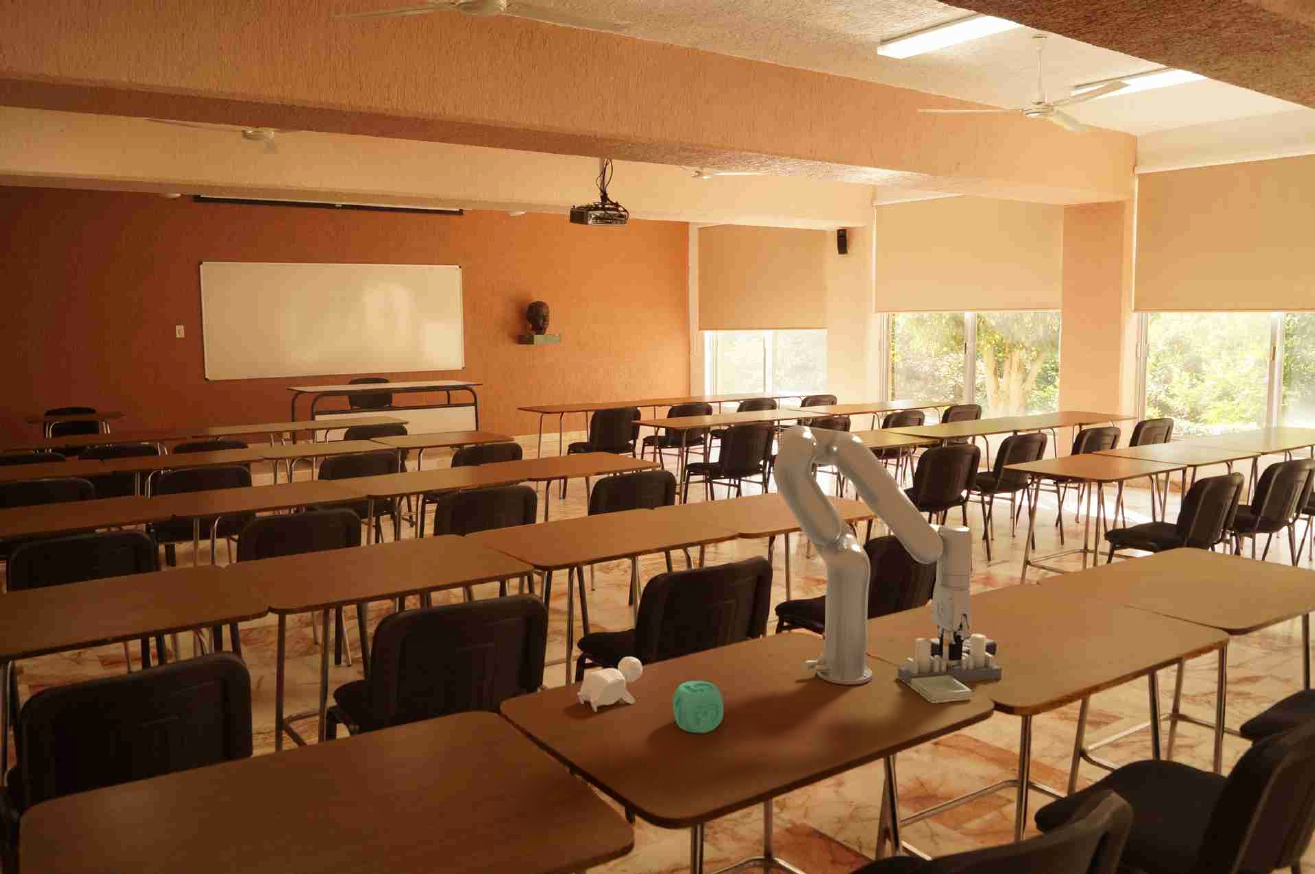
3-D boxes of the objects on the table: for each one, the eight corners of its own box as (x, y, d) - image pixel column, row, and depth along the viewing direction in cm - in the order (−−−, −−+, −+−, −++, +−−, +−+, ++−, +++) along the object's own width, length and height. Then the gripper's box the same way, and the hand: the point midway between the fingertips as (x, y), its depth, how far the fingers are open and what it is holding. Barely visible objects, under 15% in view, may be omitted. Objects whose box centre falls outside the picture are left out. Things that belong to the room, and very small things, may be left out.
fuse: (947, 670, 223) (948, 628, 222) (939, 665, 227) (940, 623, 225) (960, 669, 224) (962, 627, 223) (952, 664, 227) (954, 622, 226)
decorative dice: (672, 720, 202) (672, 683, 201) (707, 715, 204) (708, 678, 203) (687, 736, 194) (687, 697, 193) (723, 730, 197) (724, 692, 196)
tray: (932, 703, 210) (932, 694, 210) (910, 688, 219) (911, 678, 219) (971, 700, 213) (971, 690, 212) (948, 684, 222) (949, 675, 221)
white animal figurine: (604, 726, 206) (656, 686, 214) (591, 693, 203) (645, 654, 211) (582, 713, 213) (634, 675, 220) (569, 681, 210) (622, 644, 218)
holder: (910, 687, 220) (911, 646, 219) (897, 677, 226) (899, 637, 225) (1001, 678, 225) (1002, 638, 224) (986, 669, 231) (988, 630, 230)
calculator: (997, 640, 242) (963, 649, 233) (996, 657, 243) (961, 667, 233) (959, 629, 251) (924, 638, 241) (958, 645, 251) (923, 655, 242)
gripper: (920, 571, 230) (917, 646, 232) (957, 590, 214) (954, 670, 216) (949, 569, 232) (946, 644, 234) (988, 588, 216) (984, 668, 218)
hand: (950, 656), depth 225 cm, fingers closed on fuse, 3 cm apart
